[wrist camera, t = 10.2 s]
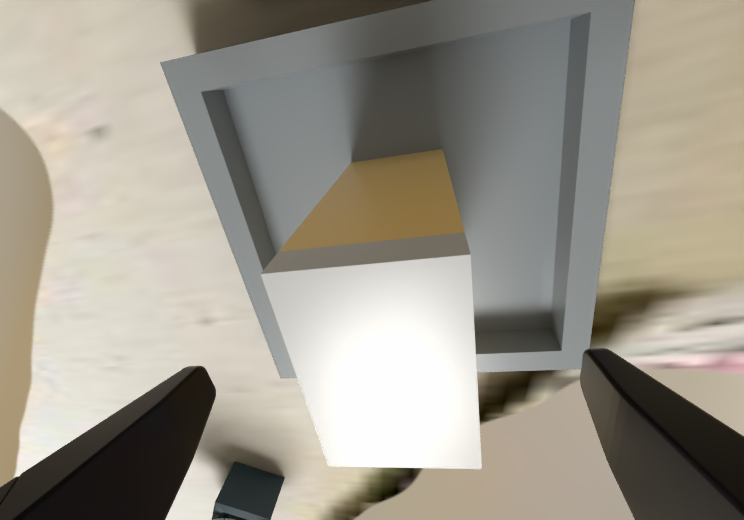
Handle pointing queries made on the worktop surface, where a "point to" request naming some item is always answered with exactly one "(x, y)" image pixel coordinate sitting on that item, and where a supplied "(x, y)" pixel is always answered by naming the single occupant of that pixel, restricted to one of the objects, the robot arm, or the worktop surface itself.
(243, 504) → the watch
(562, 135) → the parts tray
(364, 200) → the tan rectangular block
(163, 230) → the worktop surface
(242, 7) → the worktop surface
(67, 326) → the worktop surface
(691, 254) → the worktop surface
